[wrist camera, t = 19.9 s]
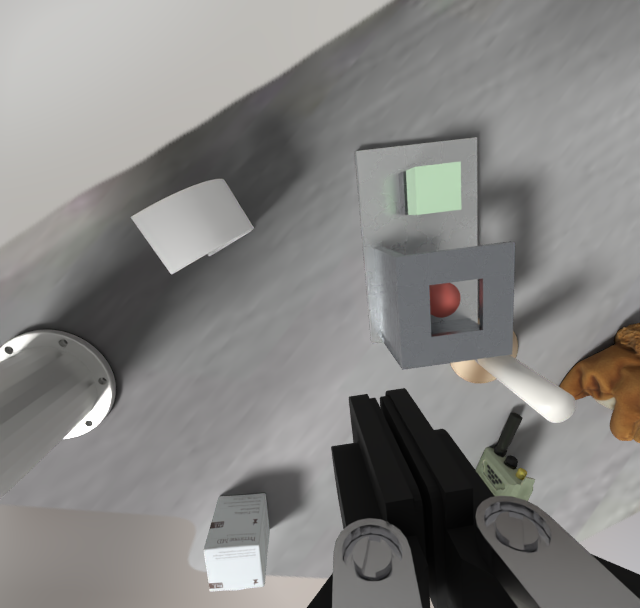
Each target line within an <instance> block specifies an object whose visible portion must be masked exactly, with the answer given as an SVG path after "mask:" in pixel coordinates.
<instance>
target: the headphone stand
mask: <svg viewBox="0 0 640 608" xmlns="http://www.w3.org/2000/svg"><path fill="white" fill-rule="evenodd" d="M131 219H132V220H133V221H134V223H135V224H136V226H137V227H138V228H139V230H140V231H141V233H142V234H143V235H144V237H145V238H146V240H147V241H148V243H149V244H150V245H151V247H152V248H153V250H154V251H155V252H156V254H157V255H158V257H159V258H160V259H161V261H162V262H163V264H164V265H165V266H166V268H167V269H168V271H169V272H170V274H171V275H172V274H174V273H176V272H177V271H179V270H181V269H182V268H184V267H186V266H187V265H189V264H191V263H192V262H194V261H196V260H197V259H199V258H201V257H203V256H204V255H206V254H208V256H211V255H213V254H215V253H216V252H218V251H220V250H221V249H223V248H225V247H226V246H228V245H230V244H231V243H233V242H235V241H236V240H238V239H240V238H241V237H243V236H244V235H246V234H248V233H249V232H251V230H252V229H254V227H253V226H252V224H251V222H250V221H249V219H248V218H247V216H246V214H245V213H244V211H243V209H242V208H241V206H240V205H239V203H238V201H237V200H236V198H235V196H234V195H233V193H232V192H231V190H230V188H229V187H228V185H227V183H226V182H225V180H223V179H213V180H209V181H205V182H202V183H199V184H196V185H193V186H191V187H188V188H186V189H184V190H181V191H179V192H177V193H175V194H172V195H170V196H168V197H166V198H164V199H162V200H160V201H158V202H156V203H154V204H153V205H151V206H149V207H147V208H145V209H144V210H142V211H140V212H138V213H137V214H135V215H133V216H132V217H131Z"/></svg>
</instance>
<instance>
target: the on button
mask: <svg viewBox="0 0 640 608" xmlns="http://www.w3.org/2000/svg"><path fill="white" fill-rule="evenodd" d="M406 182H407V201H408V215H421V214H429V213H437V212H445V211H453V210H461V161H460V162H452V163H443V164H435V165H426V166H418V167H413V168H411V169H408V170H406Z"/></svg>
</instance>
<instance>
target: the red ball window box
mask: <svg viewBox="0 0 640 608" xmlns="http://www.w3.org/2000/svg"><path fill="white" fill-rule="evenodd" d="M460 161H461V210H453V211H445V212H437V213H429V214H421V215H408V201H407V182H406V170H408V169H411V168H413V167H418V166H426V165H435V164H443V163H452V162H460ZM355 164H356V176H357V188H358V200H359V211H360V223H361V235H362V246H363V258H364V270H365V282H366V293H367V305H368V317H369V328H370V340H371V342H372V344H375V343H382V342H384V344H385V345H386V346H387V348H388V349H389V351H390V352H391V354H392V355H393V357H394V358H395V359H396V361H397V362H398V364H399V365H400V367H401V368H402V370H403V369H411V368H418V367H425V366H432V365H439V364H447V363H454V362H461V361H468V360H476V359H483V358H490V357H497V356H504V355H512V347H513V306H514V265H515V242H503V243H495V244H487V245H479V246H477V137H474V138H466V139H457V140H448V141H439V142H431V143H422V144H413V145H405V146H396V147H387V148H379V149H370V150H361V151H356V152H355ZM478 279H479V324H478ZM443 283H451V284H453V285H455V286H456V287H457V288H458V290H459V292H460V296H461V300H460V304H459V307H458V308H457V310H456V311H455V312H454V313H453V314H451V315H449V316H447V317H443V318H439V317H435V316H433V315H431V314H430V289H429V285H436V284H443Z"/></svg>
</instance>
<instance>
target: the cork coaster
mask: <svg viewBox="0 0 640 608" xmlns="http://www.w3.org/2000/svg"><path fill="white" fill-rule="evenodd" d="M478 324H479V318H478ZM517 352H518V341H517V337H516V335H515V333H514V331H513V347H512V355H511V356H512V357H514V358H516V356H517ZM450 364H451V366H452V368H453V370H454V371H455V372H456V373H457V374H458V375H459V376H460V377H461V378H463V379H464V380H466V381H469V382H472V383H487V382H491V381H493V380H496V378H495V377H494V376H493V375H492V374H490V373H489V372H488V371H487V370H485V369H484V368H483V367H482V366H480V365H479V364H478V363H477V362H476V361H474V360H468V361H461V362H454V363H450Z"/></svg>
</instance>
